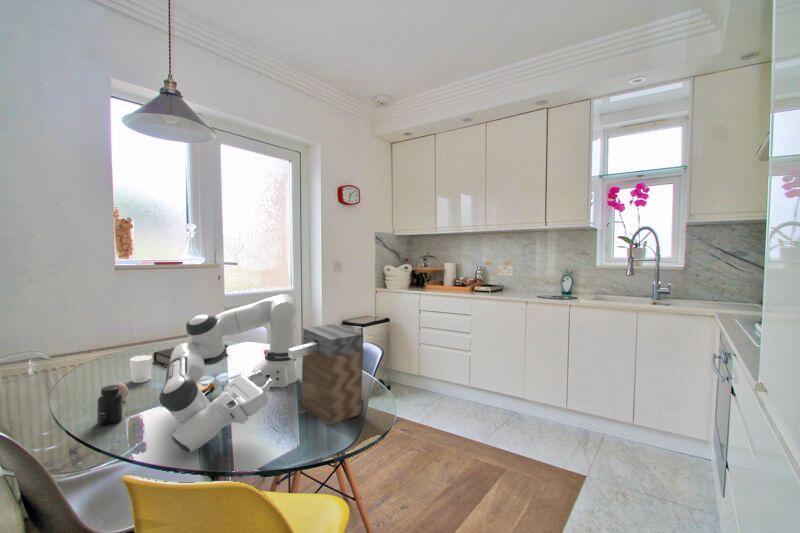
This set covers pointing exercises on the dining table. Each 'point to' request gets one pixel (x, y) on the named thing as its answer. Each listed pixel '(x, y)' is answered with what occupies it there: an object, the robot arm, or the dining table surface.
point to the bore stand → (333, 373)
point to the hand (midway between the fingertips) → (267, 376)
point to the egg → (123, 389)
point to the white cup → (141, 368)
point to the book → (165, 356)
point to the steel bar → (303, 350)
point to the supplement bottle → (109, 406)
